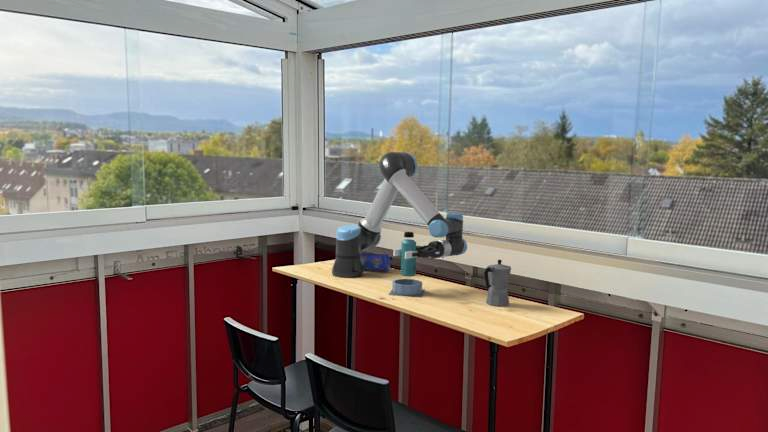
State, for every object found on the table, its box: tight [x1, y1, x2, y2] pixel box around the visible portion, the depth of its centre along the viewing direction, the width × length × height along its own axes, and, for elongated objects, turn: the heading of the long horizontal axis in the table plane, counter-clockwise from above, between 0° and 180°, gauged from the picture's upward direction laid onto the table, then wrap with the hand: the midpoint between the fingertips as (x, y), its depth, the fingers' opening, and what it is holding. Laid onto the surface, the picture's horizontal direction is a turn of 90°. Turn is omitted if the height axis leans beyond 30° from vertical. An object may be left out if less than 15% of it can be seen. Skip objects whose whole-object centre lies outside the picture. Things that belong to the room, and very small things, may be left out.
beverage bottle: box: [400, 231, 417, 278], centre depth 242 cm, size 6×7×20 cm
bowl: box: [391, 278, 423, 297], centre depth 244 cm, size 12×12×4 cm
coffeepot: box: [483, 259, 512, 308], centre depth 229 cm, size 15×9×18 cm, turn 129°
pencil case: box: [360, 252, 393, 273], centre depth 287 cm, size 22×9×10 cm, turn 77°
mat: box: [388, 288, 426, 298], centre depth 244 cm, size 14×14×1 cm
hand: (399, 254), depth 239 cm, fingers closed on beverage bottle, 6 cm apart
